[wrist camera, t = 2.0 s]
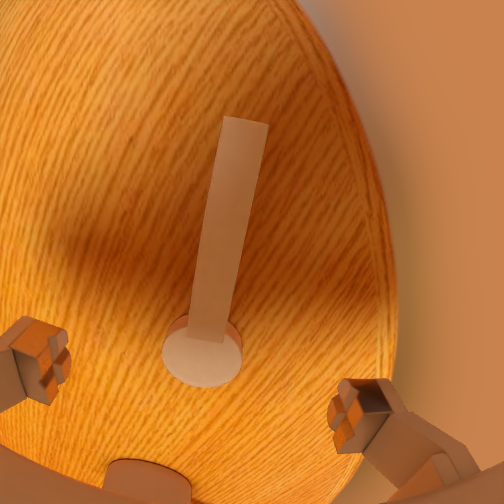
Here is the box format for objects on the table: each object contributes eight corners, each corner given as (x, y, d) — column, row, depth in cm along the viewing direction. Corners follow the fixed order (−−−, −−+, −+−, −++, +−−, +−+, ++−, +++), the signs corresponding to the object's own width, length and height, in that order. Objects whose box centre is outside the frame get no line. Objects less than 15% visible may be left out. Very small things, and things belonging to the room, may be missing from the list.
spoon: (199, 116, 13) (191, 109, 11) (292, 134, 14) (302, 132, 11) (164, 365, 17) (156, 391, 15) (234, 378, 18) (234, 405, 16)
